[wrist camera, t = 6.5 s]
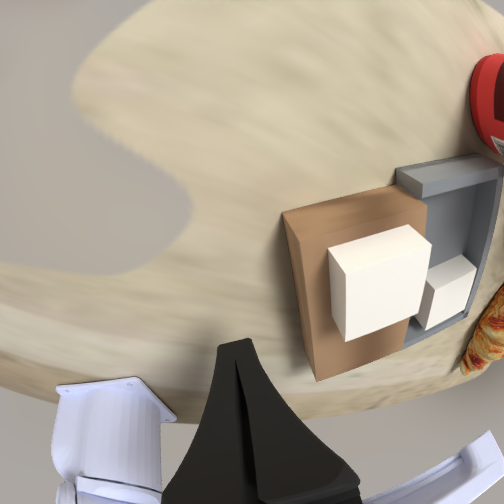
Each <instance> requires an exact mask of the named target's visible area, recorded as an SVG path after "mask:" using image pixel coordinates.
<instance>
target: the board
mask: <svg viewBox="0 0 504 504" xmlns="http://www.w3.org/2000/svg"><path fill="white" fill-rule="evenodd" d="M427 207H428V206H427V205H426V204H425V203H423V202H422V201H420V200H419V199H417V198H416V197H414V196H413V195H412V194H410V193H409V192H407V191H406V190H404V189H403V188H401V187H400V186H398V185H397V184H395V185H390V186H386V187H382V188H378V189H373V190H369V191H365V192H361V193H357V194H352V195H348V196H344V197H340V198H336V199H332V200H328V201H324V202H320V203H316V204H312V205H308V206H305V207H301V208H297V209H293V210H289V211H285V212H282V215H283V220H284V226H285V231H286V237H287V242H288V248H289V254H290V259H291V265H292V271H293V277H294V283H295V289H296V295H297V301H298V308H299V314H300V321H301V327H302V334H303V341H304V348H305V352H306V355H307V358H308V361H309V363H310V366H311V369H312V371H313V374H314V377H315V379H316V382H318V381H321V380H324V379H327V378H330V377H333V376H336V375H338V374H341V373H344V372H347V371H350V370H352V369H355V368H358V367H360V366H363V365H365V364H368V363H371V362H373V361H375V360H378V359H380V358H383V357H385V356H388V355H390V354H392V353H394V352H397V351H399V350H401V349H402V346H403V343H404V339H405V335H406V332H407V328H408V324H409V320H410V317H408V318H406V319H403V320H401V321H399V322H396V323H394V324H391V325H389V326H386V327H384V328H381V329H379V330H376V331H374V332H371V333H369V334H366V335H363V336H361V337H358V338H355V339H353V340H350V341H347V342H345V341H344V339H343V337H342V335H341V333H340V331H339V329H338V327H337V325H336V323H335V321H334V319H333V317H332V309H331V289H330V273H329V259H328V248H330V247H333V246H337V245H340V244H344V243H347V242H351V241H354V240H357V239H361V238H364V237H367V236H371V235H374V234H377V233H381V232H384V231H388V230H391V229H394V228H397V227H401V226H404V225H407V224H409V225H410V226H411V227H412V228H413V229H414V230H416V231H417V232H418V233H419V234H420V235H421V236H422V237H425V228H426V218H427Z"/></svg>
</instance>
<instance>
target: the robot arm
mask: <svg viewBox="0 0 504 504" xmlns="http://www.w3.org/2000/svg"><path fill="white" fill-rule="evenodd" d="M56 391H57V392H58V393H59V394H60V395H61V396H60V401H59V405H58V410H57V415H56V420H55V425H54V430H53V436H52V442H51V454H52V459H53V462H54V465H55V467H56V469H57V471H58V472H59V473H60V474H61V476H62V477H64V478H65V479H66V480H65V481H64V482H63V483H61V484H59V485H58V488H57V494H56V503H55V504H469V503H470V502H472V501H473V500H474V499H476V498H477V497H478V496H479V495H481V494H482V493H483V492H484V491H486V490H487V489H488V488H489V487H491V486H492V485H493V484H494V483H496V482H497V481H498V480H499V479H500V478H501V477H503V476H504V457H503V456H502V453H501V451H500V449H499V447H498V445H497V443H496V441H495V439H494V437H493V435H492V434H491V431H490V430H487V431H486V432H485V433H483V434H482V435H480V436H479V437H478V438H476V439H475V440H474V441H472V442H471V443H469V444H468V445H467V446H465V447H464V448H462V449H461V450H460V451H459V452H458V453H456V454H455V455H453V456H451V457H450V458H448V459H447V460H445V461H443V462H442V463H440V464H438V465H436V466H435V467H433V468H431V469H429V470H428V471H426V472H424V473H422V474H420V475H418V476H417V477H414V478H412V479H410V480H408V481H406V482H404V483H402V484H400V485H398V486H396V487H394V488H392V489H389V490H387V491H385V492H382V493H380V494H377V495H375V496H373V497H370V498H367V499H365V500H361V497H360V491H359V488H358V485H359V484H360V479H359V477H358V475H357V474H356V473H355V472H354V471H353V470H352V469H351V468H350V466H349V465H348V464H347V463H346V462H345V461H344V460H343V459H342V458H341V457H339V456H338V455H337V454H336V453H334V452H333V451H332V450H331V449H330V448H329V447H327V446H326V445H325V444H324V443H323V442H322V441H321V440H320V439H318V438H317V436H316V435H314V434H313V433H312V432H311V431H310V429H308V427H306V425H305V424H304V423H303V422H302V421H301V420H300V419H299V418H298V417H297V416H296V414H295V413H294V412H293V411H292V410H291V408H290V407H289V406H288V405H287V404H286V402H285V401H284V400H283V398H282V397H281V396H280V394H279V393H278V391H277V390H276V389H275V387H274V386H273V384H272V383H271V381H270V379H269V378H268V376H267V374H266V373H265V371H264V369H263V368H262V366H261V364H260V362H259V359H258V356H257V354H256V351H255V348H254V345H253V342H252V340H251V339H250V338H245V339H242V340H238V341H234V342H230V343H225V344H221V345H219V346H218V347H217V357H216V364H215V370H214V375H213V380H212V384H211V388H210V392H209V396H208V400H207V403H206V406H205V410H204V413H203V416H202V419H201V422H200V424H199V427H198V429H197V432H196V434H195V437H194V439H193V441H192V443H191V446H190V448H189V450H188V452H187V454H186V456H185V457H184V459H183V461H182V463H181V465H180V466H179V468H178V470H177V472H176V473H175V475H174V477H173V478H172V479H171V481H170V482H169V484H168V485H167V487H166V488H165V490H164V491H163V493H162V478H161V451H160V423H167V422H174V421H176V420H177V416H176V415H175V414H174V413H173V412H171V411H170V410H169V409H168V408H167V407H166V406H165V405H164V404H163V403H162V402H161V400H160V399H159V398H158V397H157V396H156V395H155V394H154V393H153V392H152V391H151V390H150V389H149V388H148V387H147V386H146V385H145V384H144V382H143V381H142V380H141V379H139V378H137V377H131V378H124V379H116V380H109V381H101V382H92V383H82V384H72V385H59V386H56Z"/></svg>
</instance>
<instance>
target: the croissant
mask: <svg viewBox="0 0 504 504" xmlns="http://www.w3.org/2000/svg"><path fill="white" fill-rule="evenodd" d="M502 357H504V285H503V286H502V287H501V288H500V290H499V291H498V292H497V293H496V295H495V297H494V298H493V300H492V301H491V303H490V305H489V307H488V308H487V309H486V311H485V312H484V314H483V315H482V317H481V318H480V320H479V322H478V324H477V326H476V329H475V331H474V335H473V337H472V339H471V340H470V342H469V344H468V347H467V350H466V353H465V354H464V355H463V357H462V360H461V364H460V370H461V373H462V374H463V375H467V374H468V373H469V372H472V371H477V370H481V369H483V367H484V366H485V365H486V364H488V363H491V362H492V361H494V360H498V359H501V358H502Z"/></svg>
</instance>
